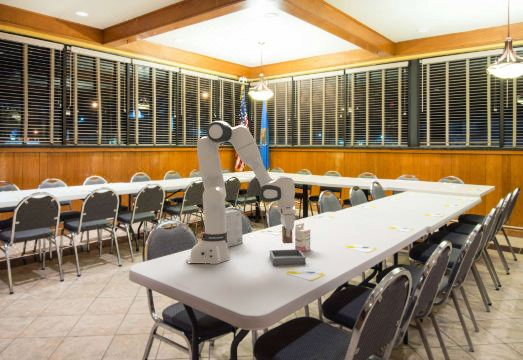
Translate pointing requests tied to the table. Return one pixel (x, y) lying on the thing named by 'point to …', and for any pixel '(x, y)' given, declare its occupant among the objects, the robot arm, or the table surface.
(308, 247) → the ink cartridge box
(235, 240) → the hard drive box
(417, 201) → the table surface
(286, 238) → the walnut block
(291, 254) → the sorting tray
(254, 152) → the robot arm
